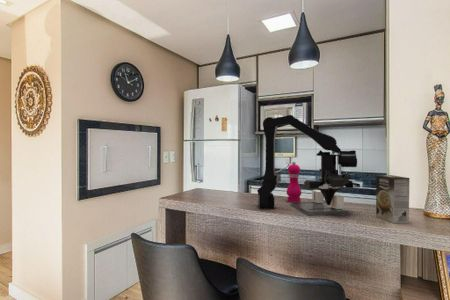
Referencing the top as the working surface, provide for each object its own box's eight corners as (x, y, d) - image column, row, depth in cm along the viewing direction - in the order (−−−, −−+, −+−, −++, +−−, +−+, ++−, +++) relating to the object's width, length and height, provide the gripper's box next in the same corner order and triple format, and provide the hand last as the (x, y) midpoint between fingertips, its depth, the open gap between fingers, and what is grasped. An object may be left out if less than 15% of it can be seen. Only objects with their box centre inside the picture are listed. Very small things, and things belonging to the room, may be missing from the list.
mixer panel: (308, 215, 98) (308, 211, 98) (290, 204, 118) (290, 201, 117) (349, 214, 100) (349, 210, 100) (324, 203, 119) (324, 200, 119)
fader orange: (336, 209, 101) (336, 196, 101) (330, 206, 106) (330, 194, 106) (343, 208, 102) (343, 196, 102) (337, 206, 107) (337, 194, 107)
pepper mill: (302, 203, 121) (302, 161, 121) (286, 202, 123) (286, 161, 123) (300, 200, 129) (300, 160, 128) (286, 199, 130) (286, 160, 130)
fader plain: (317, 203, 113) (317, 191, 113) (312, 200, 118) (312, 190, 118) (323, 202, 113) (323, 191, 113) (318, 200, 118) (318, 189, 118)
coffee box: (375, 216, 97) (375, 174, 97) (390, 216, 97) (390, 174, 97) (392, 223, 88) (392, 177, 88) (410, 223, 88) (410, 177, 88)
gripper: (316, 168, 94) (316, 210, 94) (362, 168, 97) (362, 208, 97) (303, 166, 105) (303, 203, 105) (345, 166, 108) (345, 202, 108)
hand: (328, 204), depth 103 cm, fingers closed
